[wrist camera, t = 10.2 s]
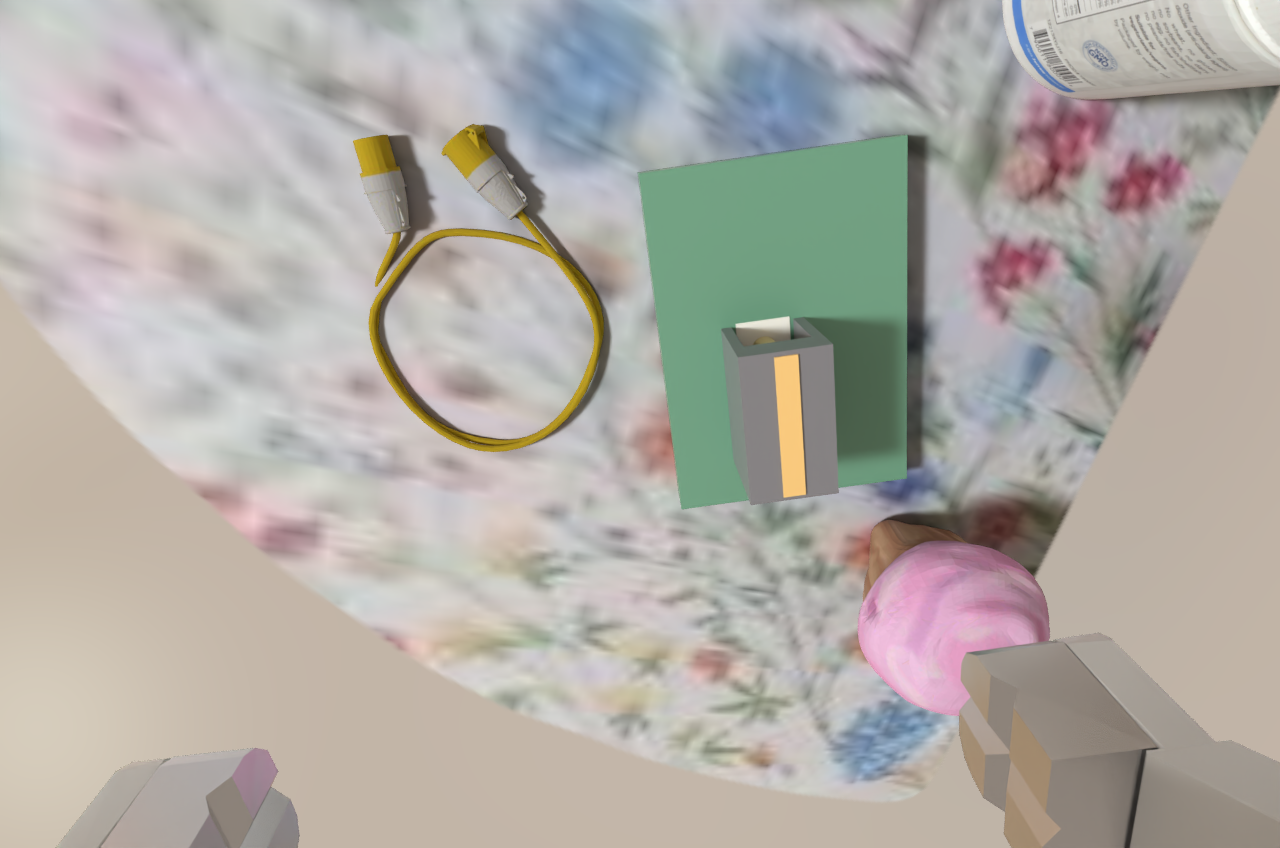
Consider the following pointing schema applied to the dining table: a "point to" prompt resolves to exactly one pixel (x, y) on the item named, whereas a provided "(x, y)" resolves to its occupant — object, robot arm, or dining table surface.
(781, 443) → the box
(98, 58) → the dining table surface
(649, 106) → the dining table surface
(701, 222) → the header board
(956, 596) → the cupcake
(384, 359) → the extension cord
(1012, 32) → the supplement tub
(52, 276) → the dining table surface
